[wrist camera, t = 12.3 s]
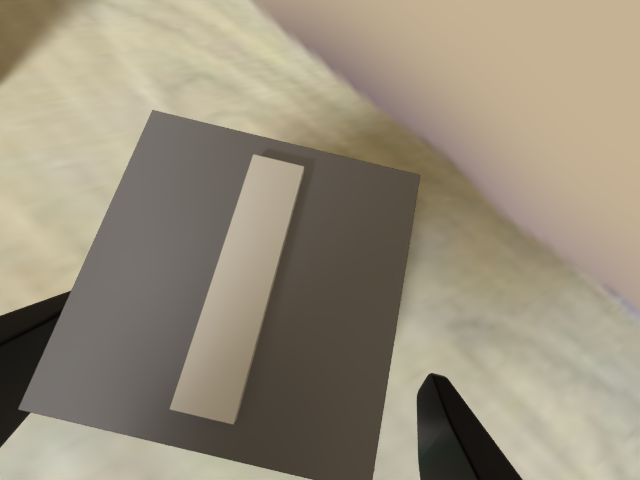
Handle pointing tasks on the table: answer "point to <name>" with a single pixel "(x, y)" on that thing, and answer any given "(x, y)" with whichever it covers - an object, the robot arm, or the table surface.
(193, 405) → the plug
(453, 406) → the robot arm
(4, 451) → the table surface
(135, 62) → the table surface
